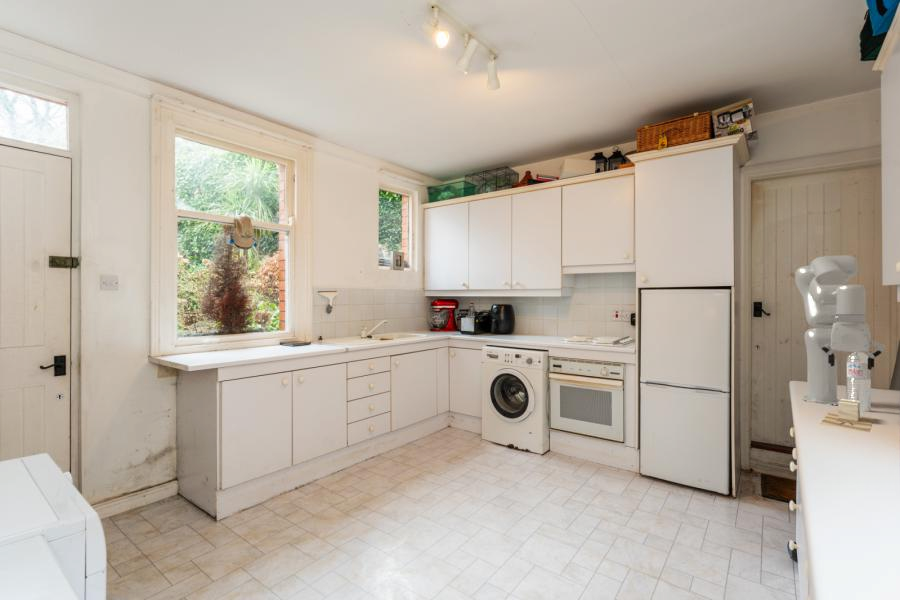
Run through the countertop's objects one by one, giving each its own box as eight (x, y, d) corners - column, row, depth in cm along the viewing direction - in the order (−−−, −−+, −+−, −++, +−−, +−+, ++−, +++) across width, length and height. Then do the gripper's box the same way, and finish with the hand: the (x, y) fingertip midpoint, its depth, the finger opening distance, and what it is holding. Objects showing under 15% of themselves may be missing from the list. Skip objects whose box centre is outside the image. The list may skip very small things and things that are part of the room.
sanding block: (841, 414, 155) (841, 398, 155) (859, 417, 151) (859, 401, 151) (838, 419, 150) (838, 402, 150) (857, 422, 146) (857, 404, 146)
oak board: (829, 414, 159) (829, 411, 159) (874, 421, 150) (874, 418, 150) (820, 426, 145) (820, 423, 145) (869, 434, 136) (869, 431, 136)
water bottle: (876, 414, 159) (876, 348, 159) (857, 414, 160) (857, 348, 159) (858, 409, 166) (858, 346, 166) (841, 409, 166) (841, 346, 166)
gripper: (816, 319, 153) (816, 365, 153) (884, 320, 140) (884, 372, 140) (820, 318, 158) (820, 363, 158) (886, 320, 144) (886, 369, 144)
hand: (850, 367), depth 149 cm, fingers open, 9 cm apart
